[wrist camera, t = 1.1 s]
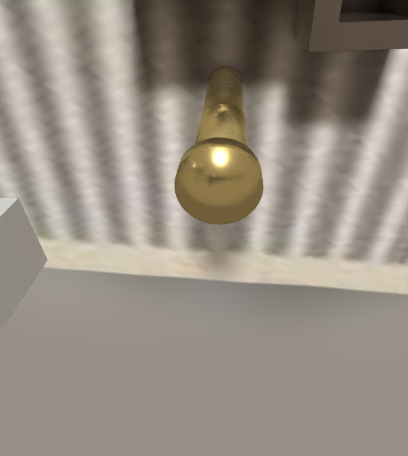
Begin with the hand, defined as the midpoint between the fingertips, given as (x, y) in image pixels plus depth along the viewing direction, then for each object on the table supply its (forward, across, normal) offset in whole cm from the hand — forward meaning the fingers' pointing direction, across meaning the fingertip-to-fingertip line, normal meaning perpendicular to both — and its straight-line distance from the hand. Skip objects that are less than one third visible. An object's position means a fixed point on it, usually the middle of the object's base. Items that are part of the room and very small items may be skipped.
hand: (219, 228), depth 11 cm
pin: (+21, 0, -1) cm, 21 cm away
